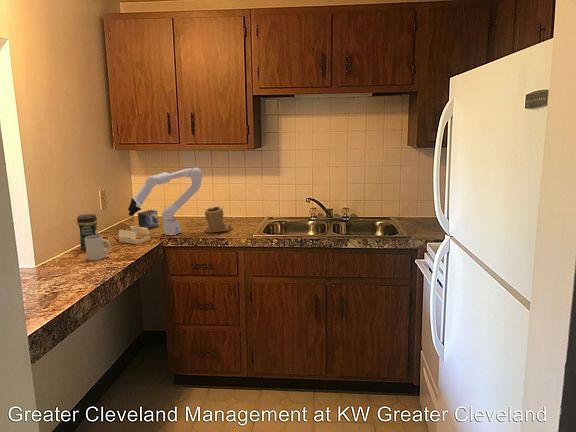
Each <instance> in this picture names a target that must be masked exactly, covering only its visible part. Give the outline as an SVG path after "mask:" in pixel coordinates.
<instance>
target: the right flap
mask: <svg viewBox="0 0 576 432" xmlns="http://www.w3.org/2000/svg"><path fill="white" fill-rule="evenodd" d="M129 227H130V231H133V232H137V234H141V235H148V236H150V234H151V233H150V231H149V230H150V229H148V228H144V227H139V226H137V225H136V226H134V225H131V226H129Z"/></svg>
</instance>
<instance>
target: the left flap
mask: <svg viewBox="0 0 576 432" xmlns="http://www.w3.org/2000/svg"><path fill="white" fill-rule="evenodd" d="M137 234H138V233H137V232H133V231H132V230H124V229H119V230H118V238H120V237H124V238H130V239H136V236H137Z"/></svg>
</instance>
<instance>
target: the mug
mask: <svg viewBox="0 0 576 432" xmlns="http://www.w3.org/2000/svg"><path fill="white" fill-rule="evenodd" d="M105 243H106V244H107V246H108V248H107V249H105ZM85 246H86V249H85V251H86V252H85V253H86V259H87V261H90V262H91V261H99V260H100V261H101V260H103V259H105V258H106V254H107V253H109V252H111V249H112V248H111V247H112V246H111V243H110V240H109V239H106V238H104V237H103V235H101V234H98V235H92V236H88V237H85Z"/></svg>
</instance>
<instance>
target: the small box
mask: <svg viewBox="0 0 576 432" xmlns="http://www.w3.org/2000/svg"><path fill="white" fill-rule="evenodd" d="M137 220H138V227H144V228H148V230H150V229H149V228H152V229H155V228H158V227H159V217H158V211H157V210H154V209H149V210H144V211H141V212H137ZM154 227H155V228H154Z"/></svg>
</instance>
